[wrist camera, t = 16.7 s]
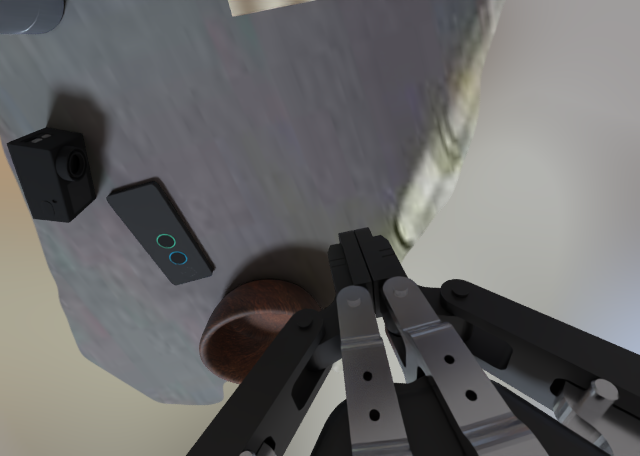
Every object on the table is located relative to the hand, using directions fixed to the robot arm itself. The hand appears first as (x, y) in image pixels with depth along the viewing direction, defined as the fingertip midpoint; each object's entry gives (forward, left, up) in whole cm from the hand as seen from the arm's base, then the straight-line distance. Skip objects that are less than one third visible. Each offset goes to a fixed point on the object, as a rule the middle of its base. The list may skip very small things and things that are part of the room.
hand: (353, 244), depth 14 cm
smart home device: (-28, -16, -33) cm, 46 cm away
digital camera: (-34, -2, -32) cm, 47 cm away
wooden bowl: (-16, -40, -32) cm, 54 cm away
